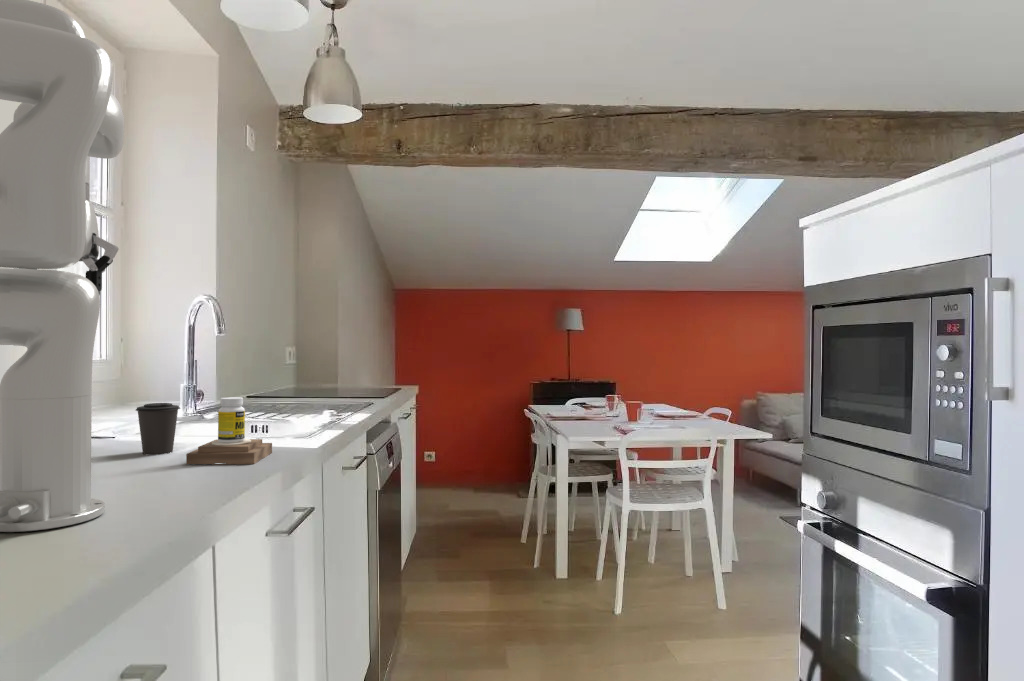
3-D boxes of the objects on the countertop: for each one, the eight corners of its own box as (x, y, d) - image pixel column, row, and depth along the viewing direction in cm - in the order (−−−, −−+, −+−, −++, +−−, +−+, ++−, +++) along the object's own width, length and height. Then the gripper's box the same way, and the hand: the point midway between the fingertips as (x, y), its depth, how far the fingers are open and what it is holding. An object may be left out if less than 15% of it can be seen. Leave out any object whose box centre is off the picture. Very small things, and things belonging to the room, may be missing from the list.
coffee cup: (166, 456, 127) (166, 405, 127) (125, 455, 128) (126, 405, 128) (188, 449, 135) (188, 401, 135) (149, 449, 136) (150, 401, 136)
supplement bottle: (238, 443, 123) (238, 399, 123) (213, 443, 123) (213, 398, 123) (248, 439, 127) (249, 396, 127) (225, 439, 127) (225, 396, 127)
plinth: (254, 463, 120) (254, 446, 120) (186, 464, 119) (186, 446, 119) (272, 452, 132) (272, 436, 132) (210, 453, 131) (210, 437, 131)
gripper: (-8, 186, 105) (-9, 293, 105) (105, 189, 106) (104, 294, 106) (22, 197, 112) (22, 296, 112) (128, 199, 114) (127, 297, 114)
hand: (62, 295), depth 109 cm, fingers open, 9 cm apart
